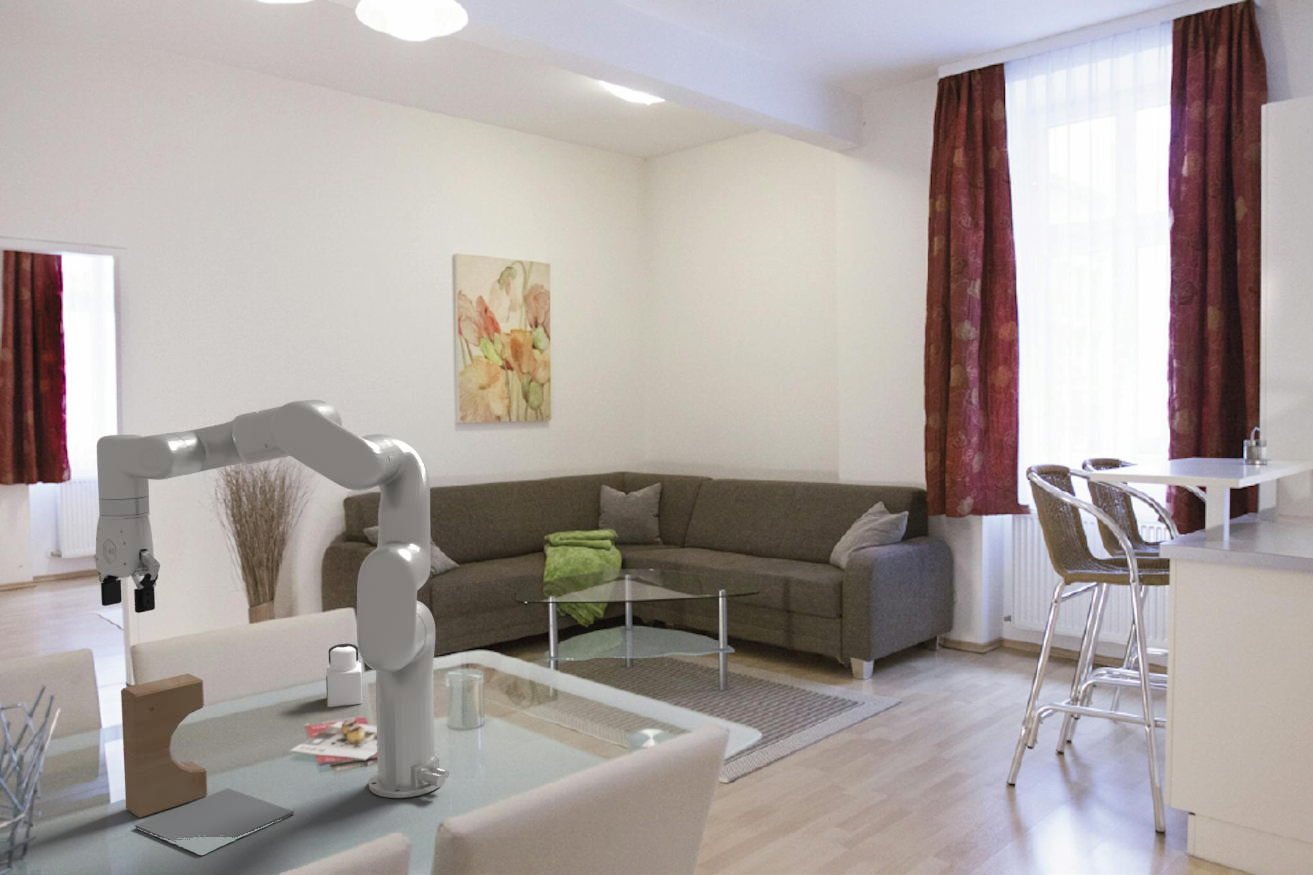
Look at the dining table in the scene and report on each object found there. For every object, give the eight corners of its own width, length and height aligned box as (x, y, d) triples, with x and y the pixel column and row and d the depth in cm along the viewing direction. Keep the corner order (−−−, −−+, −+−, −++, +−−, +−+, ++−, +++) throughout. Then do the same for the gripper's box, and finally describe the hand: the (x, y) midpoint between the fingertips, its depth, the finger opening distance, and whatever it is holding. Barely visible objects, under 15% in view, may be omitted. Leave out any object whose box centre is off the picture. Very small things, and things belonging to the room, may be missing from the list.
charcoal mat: (293, 814, 158) (293, 811, 158) (201, 856, 145) (201, 852, 145) (228, 791, 167) (227, 788, 167) (135, 828, 154) (135, 824, 154)
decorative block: (194, 787, 169) (190, 672, 168) (208, 797, 165) (204, 679, 164) (124, 809, 161) (119, 687, 160) (138, 819, 157) (132, 695, 156)
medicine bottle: (327, 697, 216) (326, 643, 215) (361, 693, 218) (360, 640, 217) (327, 707, 209) (325, 651, 208) (362, 704, 211) (360, 648, 210)
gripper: (73, 506, 169) (77, 606, 170) (132, 514, 160) (136, 618, 161) (116, 502, 176) (120, 597, 177) (175, 508, 167) (179, 609, 168)
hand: (128, 607), depth 169 cm, fingers open, 9 cm apart
